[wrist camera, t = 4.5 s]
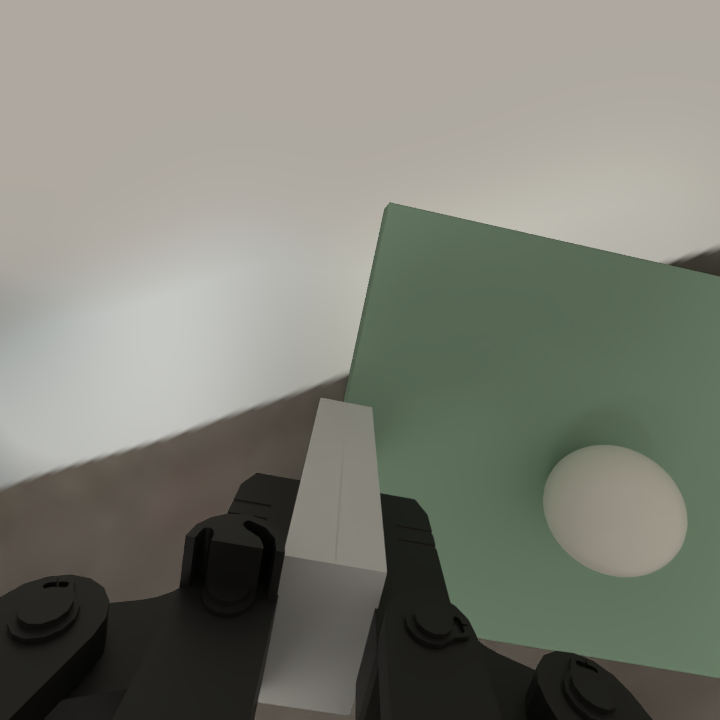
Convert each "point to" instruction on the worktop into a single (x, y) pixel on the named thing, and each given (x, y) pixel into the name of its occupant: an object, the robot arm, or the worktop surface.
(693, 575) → the plate
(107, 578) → the worktop surface
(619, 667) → the worktop surface
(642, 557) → the ball
